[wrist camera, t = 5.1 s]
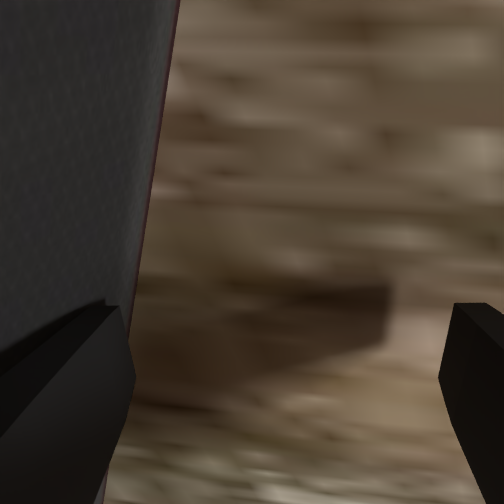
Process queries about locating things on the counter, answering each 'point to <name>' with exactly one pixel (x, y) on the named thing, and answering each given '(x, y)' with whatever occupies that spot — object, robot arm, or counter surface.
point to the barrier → (76, 158)
